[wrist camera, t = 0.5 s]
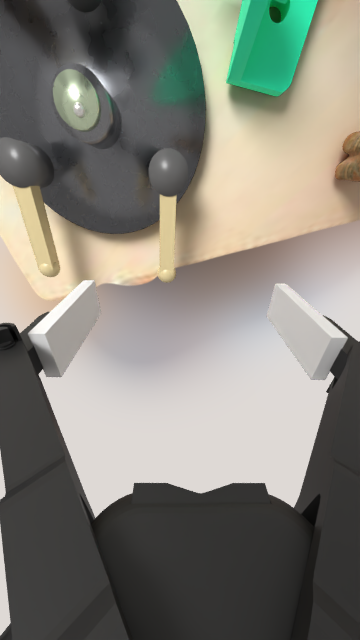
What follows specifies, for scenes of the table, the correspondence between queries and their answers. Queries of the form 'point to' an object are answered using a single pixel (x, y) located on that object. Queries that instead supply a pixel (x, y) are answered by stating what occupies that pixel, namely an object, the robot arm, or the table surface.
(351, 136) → the figurine
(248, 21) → the camera mount
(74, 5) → the maraca
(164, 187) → the knob
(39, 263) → the knob
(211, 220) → the table surface
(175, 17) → the level base
